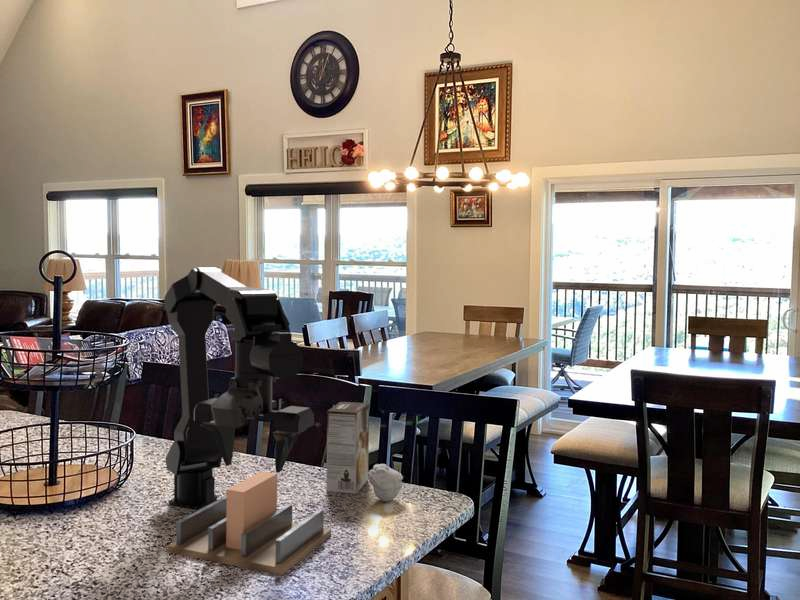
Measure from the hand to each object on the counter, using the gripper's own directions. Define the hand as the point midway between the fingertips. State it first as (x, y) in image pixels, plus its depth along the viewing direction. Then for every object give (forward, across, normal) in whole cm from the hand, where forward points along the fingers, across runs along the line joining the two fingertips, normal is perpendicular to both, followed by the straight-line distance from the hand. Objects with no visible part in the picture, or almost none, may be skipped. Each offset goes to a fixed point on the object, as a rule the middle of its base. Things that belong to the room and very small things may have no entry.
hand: (253, 468), depth 113 cm
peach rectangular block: (+11, 0, 0) cm, 11 cm away
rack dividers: (+12, 0, 0) cm, 12 cm away
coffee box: (+12, +2, +32) cm, 34 cm away
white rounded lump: (+12, +12, +27) cm, 32 cm away
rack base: (+12, 0, 0) cm, 12 cm away
